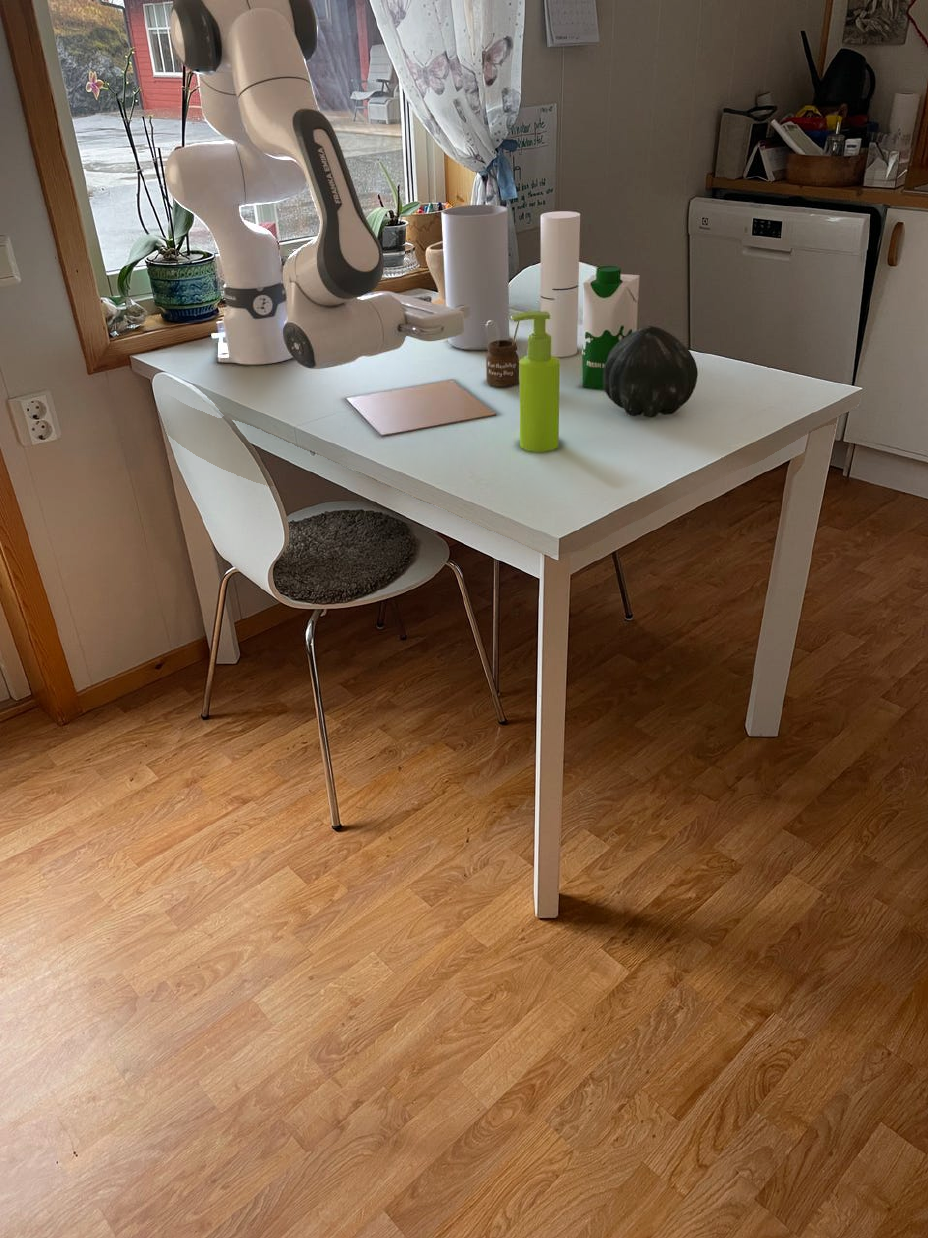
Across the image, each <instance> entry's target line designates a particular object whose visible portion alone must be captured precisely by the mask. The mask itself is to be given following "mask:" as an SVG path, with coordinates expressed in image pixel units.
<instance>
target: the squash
mask: <svg viewBox="0 0 928 1238" xmlns="http://www.w3.org/2000/svg"><path fill="white" fill-rule="evenodd" d="M698 376H699V371H698V366H697V362H696V359H695V358H694V356H693V354H692V353H691V351H690V350H689V348H688V347H687V346H686V345H685V344H684V343H683V342H682V341H680V339H678V338H677V337H676V336H675V335H674V334H673V335H672V334H671V333H670V332H668V331H667V330H664V329H663V328H660V327H657V326H654V325H646V326H643V327H641V328H639V329H637V330H636V331H635V332H633V333H631V334H629V335H628V336H626V337H625V338H623V339H622V340H620V341H619V342H618V343H617V344H616V345H615V346H614V347H613V349H612V350H611V351H610V353H609V355H608V358H607V361H606V364H605V367H604V373H603V384H604V389H603V390H604V391H605V394H606V395H607V397H608V399H610V400H611V401H612V402H613V403H614V404H615V406H617V407H619V408H621V409H623V410H624V411H625V412H626V414H627V415H629V416H630V417H639V416H640V415H643V416H645V417H646V418H648V419H650V418H655V417H656V416H658V415H659V414H660V415H665V416H667V415H673V414H675V413H676V412H678V411H679V409H681V407H682V406H684V405H685V404H686V403H688V401H689V400H690V398H691V397H692V396H693V394H694V391H695V389H696V387H697V382H698Z"/></svg>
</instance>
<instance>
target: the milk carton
mask: <svg viewBox="0 0 928 1238" xmlns="http://www.w3.org/2000/svg"><path fill="white" fill-rule="evenodd" d="M621 272H622V268H621V267H619V266H617V265H602V266H599V267H597V268H596V269H595V274H594V275H591V276H590V277H589V278H587V279H586V280H585V281H583V282H582V290H583V291H582V304H583V305H582V337H581V338H582V340H581V342H582V344H581V371H582V375H581V376H582V388H587V389H588V388H589V389H596V390H597V389H598V390H605V389H604V384H603V373H604V367H605V364H606V361H607V358H608V355H609V353H610V351H611V350H612V349H613V347H614V346H615V345H616V344H617V343H618V342H619V341H620V340H622V339H623V338H625V337H626V336H628V335H629V334H631V333H633V332H635V331H637V330H638V329H637V328H638V327H637V326H638V305H639V303H638V302H639V288H640V277H641V276H640V275H639V274H626V273H621Z"/></svg>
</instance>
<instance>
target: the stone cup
mask: <svg viewBox="0 0 928 1238" xmlns="http://www.w3.org/2000/svg"><path fill="white" fill-rule="evenodd" d="M425 261H426V265H427V268H428V270H429V272H430V274H431V277H432V279H433V280H434V283H435V285H436V289H437V292H438V293H437V297H435V298H434V299H432V301H431V302H432V303H435V304H438V305H442V306H446V291H445V271H444V252H443V240H441V241H439V242H436V243H433V244H431V245H429V246H428V247H427V248H426V250H425Z"/></svg>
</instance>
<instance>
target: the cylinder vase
mask: <svg viewBox="0 0 928 1238" xmlns="http://www.w3.org/2000/svg"><path fill="white" fill-rule="evenodd" d="M508 220H509V219H508V207H506V206H504V205H498V204H497V205H496V204H467V205H458V206H452V207H448V208H445V209H443V210H441V227H442V228H441V231H442V241H443V252H444V271H445V291H446V307H450V308H454V309H455V306H458V305H466V306H469V312H470V315H469V317H467V318H464V332H463V333H462V334H461V335H459V336H456V337H451V338H447V341H448V343H449V344H450V345H451V346H452V347H454V348H457V349H459V350H468V351H485V350H488V344H489V343H490V342H492V341H496V340H510V290H509V289H510V287H509V285H510V284H509V283H510V282H509V281H510V280H509V237H508V236H509V231H508V230H509V227H508V226H509V225H508ZM490 320H493V321H490ZM494 321H495V322H496V323H497V324H496V323H495V322H494ZM487 323H488V324H487ZM491 323H492V324H491ZM493 323H494V324H493ZM485 324H486V325H487V326H488V327H486V325H485ZM496 325H498V326H496ZM490 327H491V329H490ZM492 327H493V328H492ZM486 328H487V330H486V331H485V329H486ZM495 328H496V329H495ZM498 329H499V330H498ZM497 330H498V331H497ZM488 331H489V332H488ZM493 331H494V332H493ZM491 332H492V333H491ZM496 332H497V333H496ZM487 334H488V335H487ZM489 335H490V336H489ZM499 335H500V337H499ZM492 337H493V338H492ZM494 337H495V338H494ZM490 338H491V339H490ZM489 340H490V342H489Z"/></svg>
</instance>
